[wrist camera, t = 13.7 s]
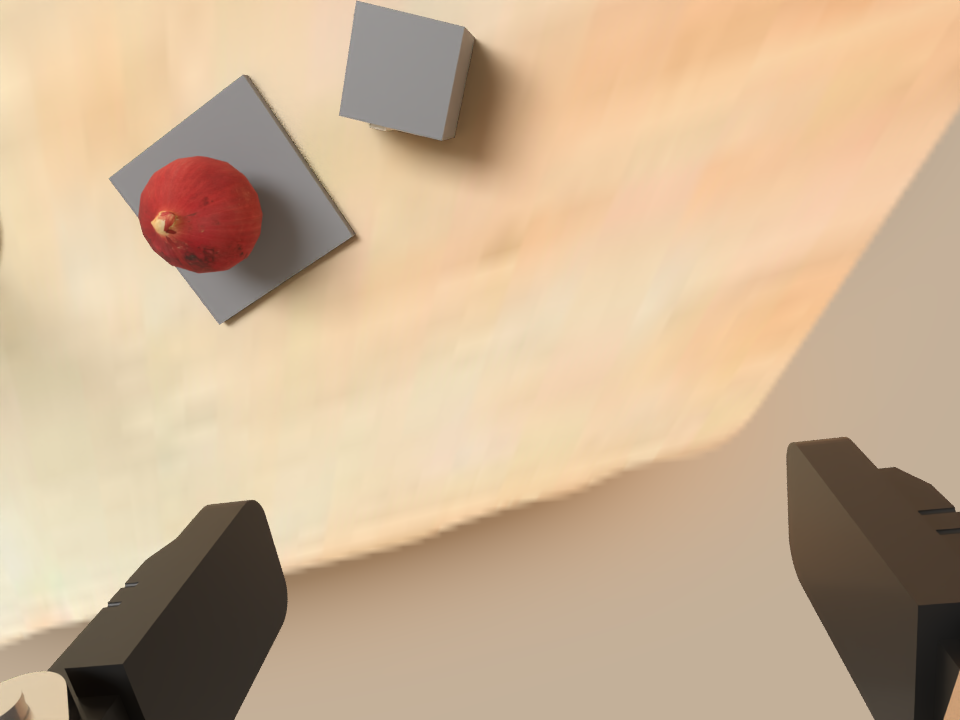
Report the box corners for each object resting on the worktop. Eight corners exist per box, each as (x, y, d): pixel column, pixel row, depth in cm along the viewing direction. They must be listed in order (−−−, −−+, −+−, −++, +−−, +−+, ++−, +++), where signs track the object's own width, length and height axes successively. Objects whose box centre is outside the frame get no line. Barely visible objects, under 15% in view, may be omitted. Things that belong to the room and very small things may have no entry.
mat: (247, 75, 38) (243, 74, 37) (355, 234, 40) (352, 236, 39) (114, 177, 40) (108, 178, 40) (223, 321, 42) (219, 324, 42)
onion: (293, 251, 40) (235, 283, 33) (198, 263, 41) (120, 297, 33) (269, 146, 38) (202, 154, 31) (170, 160, 39) (81, 171, 31)
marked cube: (380, 15, 36) (356, 0, 32) (475, 37, 36) (464, 27, 32) (364, 120, 38) (338, 120, 33) (453, 141, 38) (440, 146, 33)
